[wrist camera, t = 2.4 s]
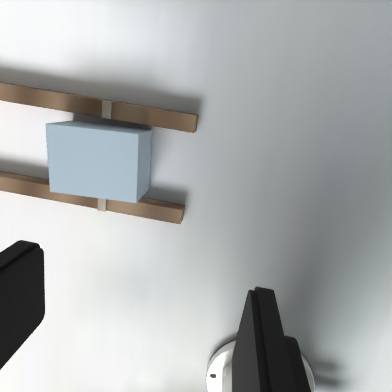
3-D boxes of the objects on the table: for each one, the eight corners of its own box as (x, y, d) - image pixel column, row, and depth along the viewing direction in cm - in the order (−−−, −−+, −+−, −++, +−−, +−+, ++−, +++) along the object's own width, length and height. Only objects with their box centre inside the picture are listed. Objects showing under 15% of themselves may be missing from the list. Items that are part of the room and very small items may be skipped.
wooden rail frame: (198, 114, 27) (196, 115, 25) (182, 218, 30) (179, 225, 28) (-101, 65, 29) (-122, 63, 27) (-84, 168, 32) (-102, 172, 30)
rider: (152, 129, 28) (138, 134, 24) (149, 188, 30) (136, 203, 25) (73, 120, 28) (45, 123, 24) (75, 179, 30) (50, 191, 26)
